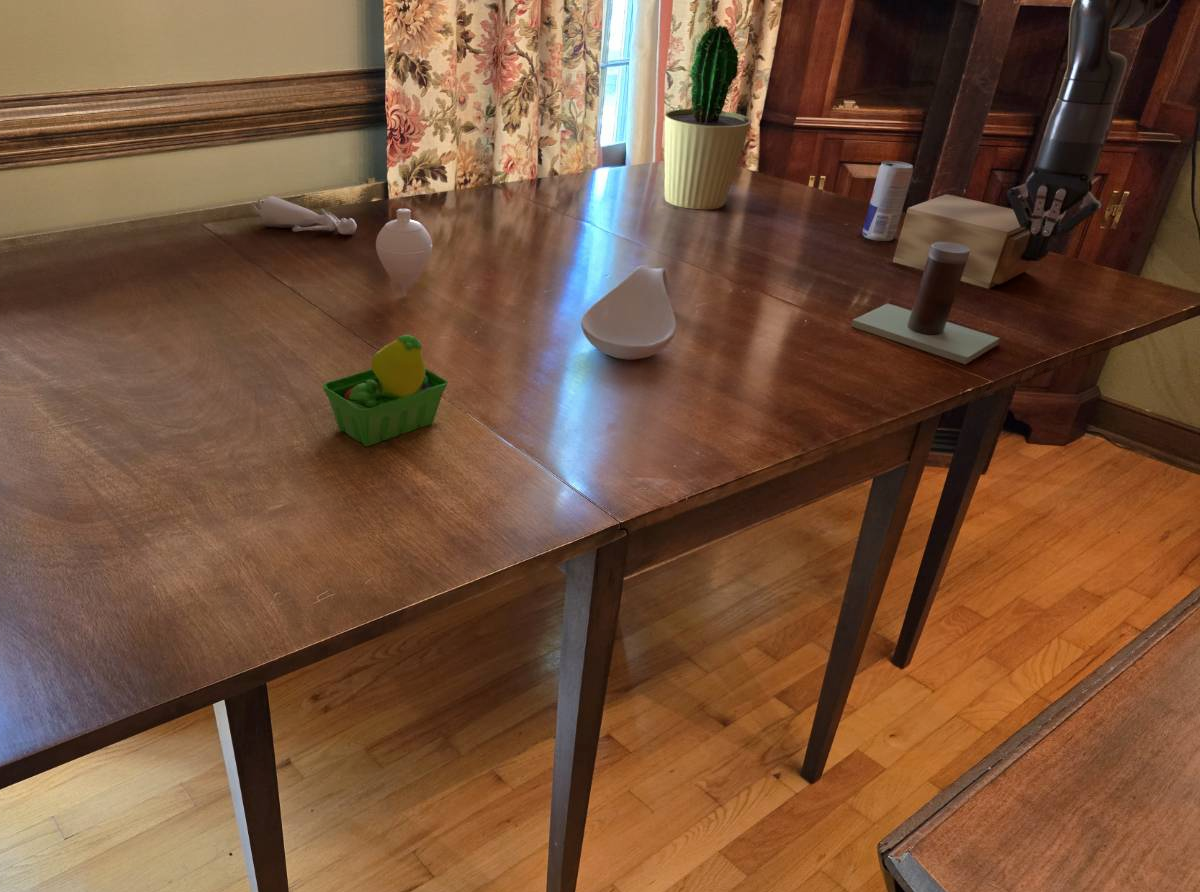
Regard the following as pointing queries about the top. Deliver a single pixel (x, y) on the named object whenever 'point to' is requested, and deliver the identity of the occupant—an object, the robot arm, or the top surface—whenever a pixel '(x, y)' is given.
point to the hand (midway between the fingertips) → (1034, 259)
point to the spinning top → (404, 249)
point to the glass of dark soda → (938, 287)
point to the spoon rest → (632, 316)
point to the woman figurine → (299, 217)
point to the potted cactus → (705, 129)
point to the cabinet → (958, 234)
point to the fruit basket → (387, 394)
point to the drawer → (1013, 258)
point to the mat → (949, 344)
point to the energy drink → (887, 200)
